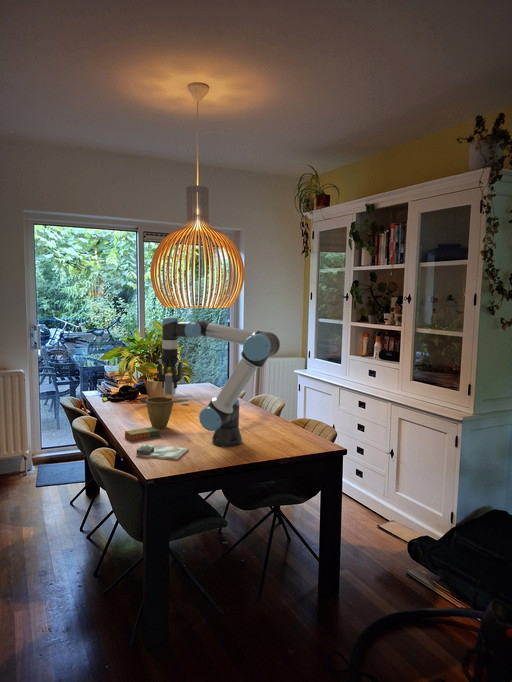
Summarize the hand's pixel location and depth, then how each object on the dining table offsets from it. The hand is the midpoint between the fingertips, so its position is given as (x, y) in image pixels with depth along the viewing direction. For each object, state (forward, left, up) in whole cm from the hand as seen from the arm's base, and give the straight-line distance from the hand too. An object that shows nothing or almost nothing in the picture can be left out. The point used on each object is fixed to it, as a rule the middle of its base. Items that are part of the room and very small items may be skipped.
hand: (169, 394), depth 250 cm
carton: (+16, -4, -25) cm, 30 cm away
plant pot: (+15, -23, -25) cm, 37 cm away
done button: (+4, +21, -23) cm, 31 cm away
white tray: (-3, +16, -25) cm, 30 cm away
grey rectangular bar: (0, 0, -2) cm, 2 cm away
